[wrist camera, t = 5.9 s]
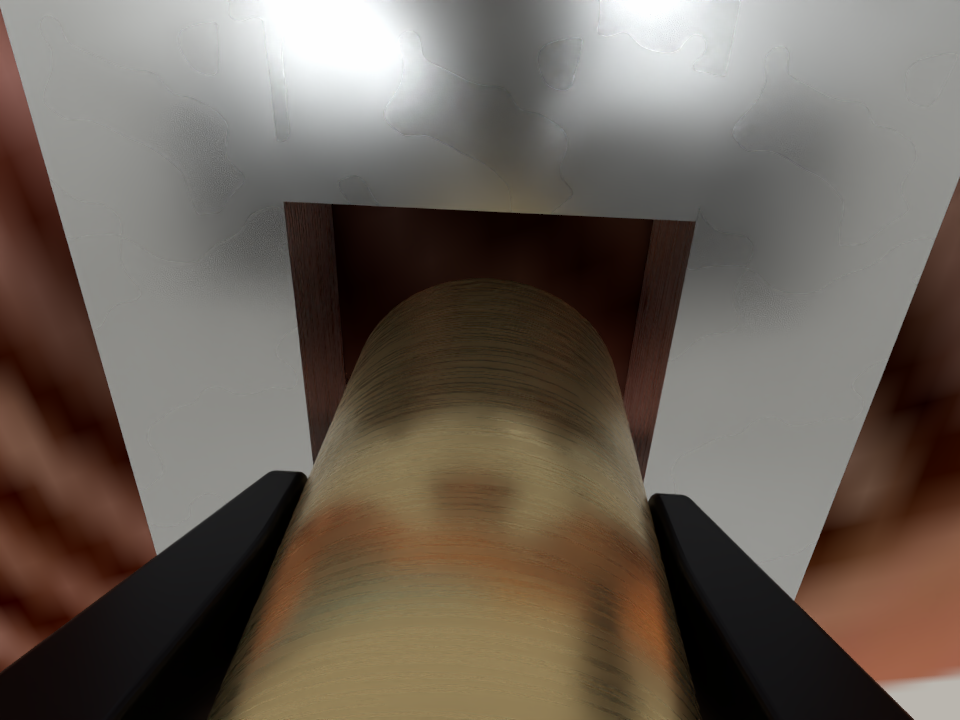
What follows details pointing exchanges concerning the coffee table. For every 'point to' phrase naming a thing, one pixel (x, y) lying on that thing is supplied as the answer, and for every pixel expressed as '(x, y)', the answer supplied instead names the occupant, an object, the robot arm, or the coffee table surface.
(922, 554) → the coffee table surface
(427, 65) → the plate
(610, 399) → the pale yellow rod
